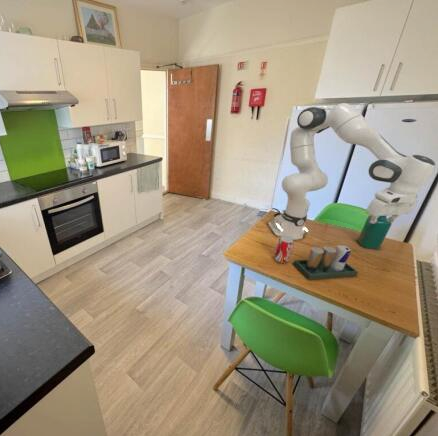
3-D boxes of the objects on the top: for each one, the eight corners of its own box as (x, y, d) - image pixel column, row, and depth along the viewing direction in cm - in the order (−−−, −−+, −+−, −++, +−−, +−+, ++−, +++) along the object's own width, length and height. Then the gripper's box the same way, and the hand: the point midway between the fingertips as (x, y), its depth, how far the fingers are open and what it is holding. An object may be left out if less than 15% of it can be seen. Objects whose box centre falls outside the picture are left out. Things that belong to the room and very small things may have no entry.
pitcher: (380, 250, 130) (399, 214, 120) (361, 247, 133) (378, 212, 123) (373, 240, 138) (389, 206, 128) (355, 238, 141) (370, 204, 131)
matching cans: (302, 267, 119) (308, 247, 113) (323, 265, 119) (330, 245, 114) (308, 273, 114) (316, 253, 109) (330, 272, 115) (339, 251, 109)
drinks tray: (293, 264, 122) (294, 260, 121) (337, 260, 123) (338, 257, 122) (308, 279, 112) (310, 275, 110) (356, 275, 113) (358, 271, 112)
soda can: (270, 255, 129) (276, 235, 123) (284, 255, 128) (290, 235, 122) (276, 264, 122) (282, 242, 116) (291, 263, 122) (297, 242, 116)
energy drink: (344, 272, 115) (353, 251, 109) (332, 271, 116) (340, 250, 110) (339, 265, 119) (347, 245, 114) (327, 264, 120) (335, 244, 115)
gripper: (411, 190, 104) (392, 217, 112) (372, 192, 101) (356, 219, 109) (427, 197, 99) (407, 224, 107) (387, 199, 96) (369, 227, 103)
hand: (381, 222), depth 108 cm, fingers open, 8 cm apart
